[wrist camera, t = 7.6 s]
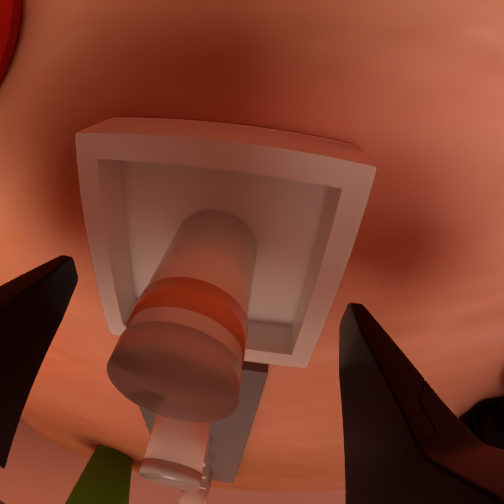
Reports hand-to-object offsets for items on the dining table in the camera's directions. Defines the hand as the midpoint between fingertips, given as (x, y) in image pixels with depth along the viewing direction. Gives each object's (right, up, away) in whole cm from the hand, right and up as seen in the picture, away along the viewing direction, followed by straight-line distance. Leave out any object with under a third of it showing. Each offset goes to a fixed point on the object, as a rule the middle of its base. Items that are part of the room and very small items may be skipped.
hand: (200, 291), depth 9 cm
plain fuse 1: (-2, -7, +7) cm, 10 cm away
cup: (-17, -26, +23) cm, 38 cm away
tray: (0, +2, +3) cm, 3 cm away
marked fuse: (0, +1, +2) cm, 2 cm away
